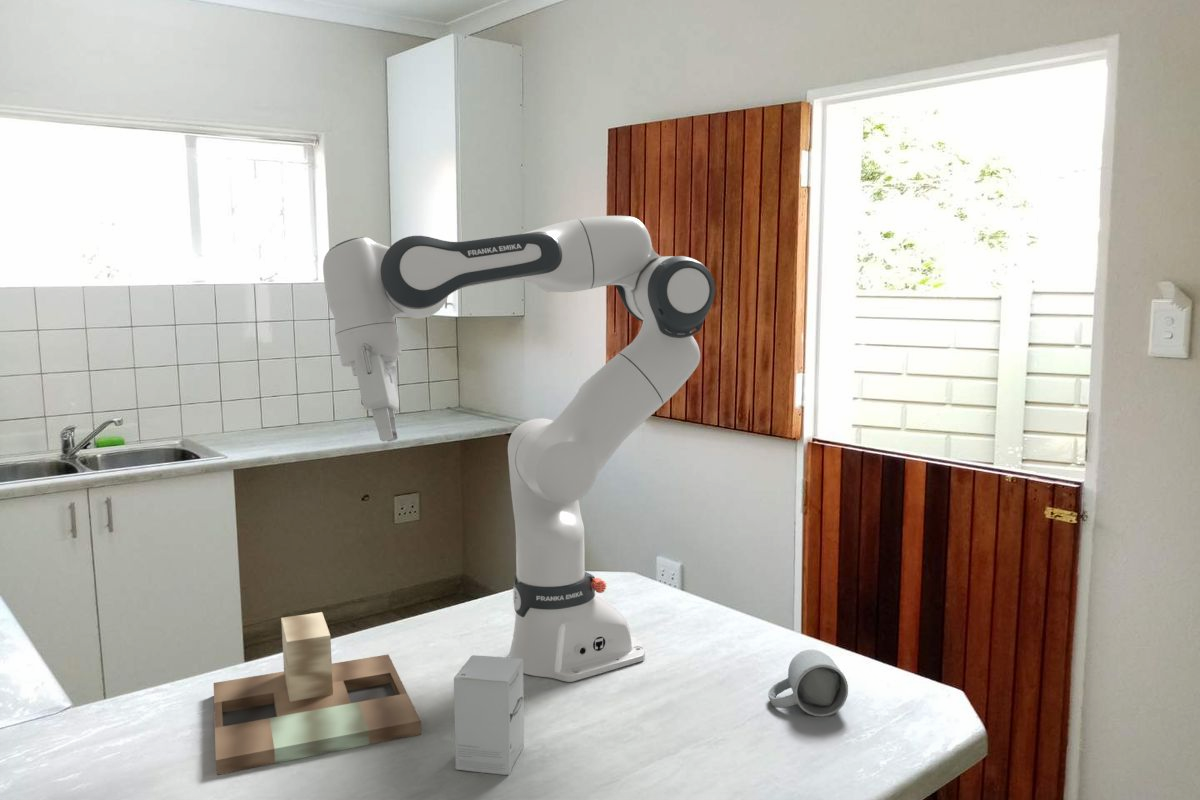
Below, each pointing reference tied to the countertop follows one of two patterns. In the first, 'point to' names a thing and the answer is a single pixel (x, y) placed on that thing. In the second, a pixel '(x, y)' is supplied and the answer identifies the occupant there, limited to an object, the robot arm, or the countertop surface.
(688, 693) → the countertop surface
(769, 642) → the countertop surface
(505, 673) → the supplement box
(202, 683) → the countertop surface
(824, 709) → the ceramic mug
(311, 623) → the birch block
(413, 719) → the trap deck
